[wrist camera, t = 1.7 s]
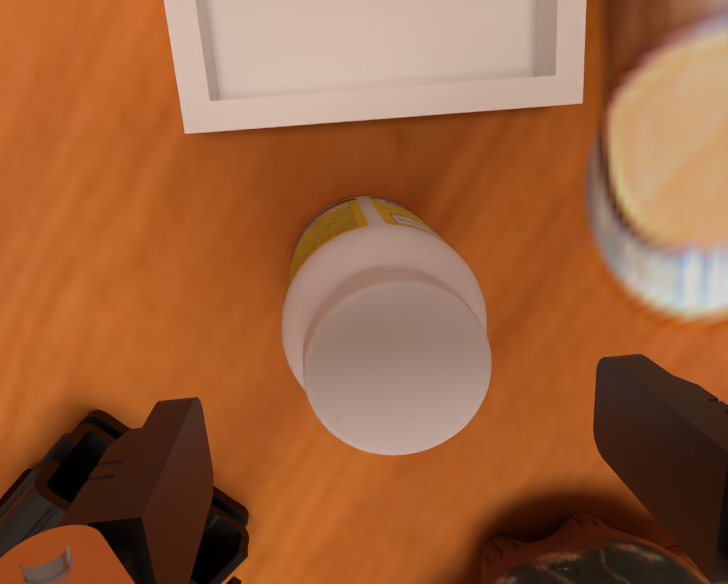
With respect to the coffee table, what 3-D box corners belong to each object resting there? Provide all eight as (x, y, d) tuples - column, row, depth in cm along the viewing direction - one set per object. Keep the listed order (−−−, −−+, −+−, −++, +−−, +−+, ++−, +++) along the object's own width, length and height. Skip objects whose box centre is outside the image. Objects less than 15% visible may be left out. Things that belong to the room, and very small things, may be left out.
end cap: (-3, 502, 26) (-110, 625, 20) (87, 397, 25) (4, 492, 19) (172, 608, 29) (128, 749, 22) (261, 517, 27) (242, 637, 21)
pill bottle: (299, 339, 25) (282, 495, 14) (285, 199, 23) (253, 259, 13) (437, 328, 25) (520, 472, 15) (434, 189, 23) (525, 239, 13)
